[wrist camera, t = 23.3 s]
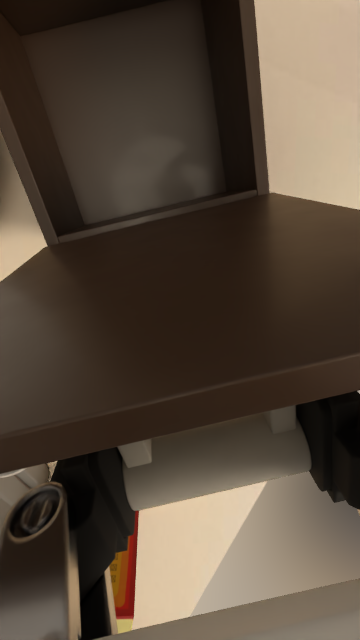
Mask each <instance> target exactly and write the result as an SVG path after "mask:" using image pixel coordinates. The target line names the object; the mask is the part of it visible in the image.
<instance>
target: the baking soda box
mask: <svg viewBox="0 0 360 640" xmlns="http://www.w3.org/2000/svg"><path fill="white" fill-rule="evenodd" d="M138 515H139V511H136V513H135V529H134V534H133V535H131V536H128V549H127V551H123V552H118V553H116V554H115V559H114V560H113V562H112V563H111V564H110V565H109V568H110V576H111V583H112V591H113V598H114V606H115V613H116V621H117V629H118V634H119V633H123V632H127V631H131V629H132V623H133V618H134V601H135V579H136V558H137V536H138Z"/></svg>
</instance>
